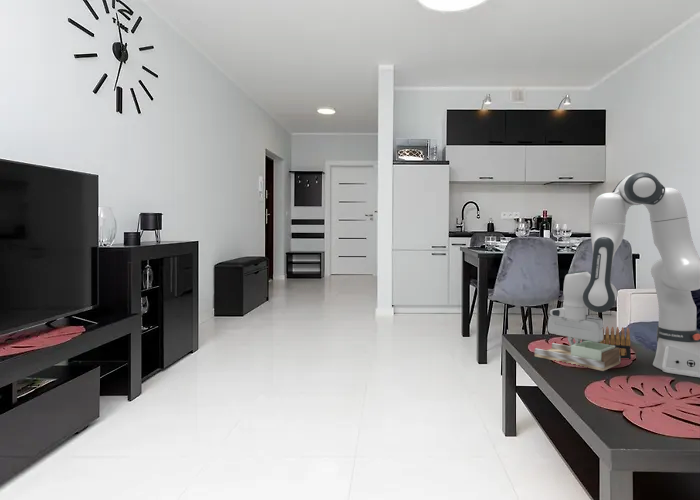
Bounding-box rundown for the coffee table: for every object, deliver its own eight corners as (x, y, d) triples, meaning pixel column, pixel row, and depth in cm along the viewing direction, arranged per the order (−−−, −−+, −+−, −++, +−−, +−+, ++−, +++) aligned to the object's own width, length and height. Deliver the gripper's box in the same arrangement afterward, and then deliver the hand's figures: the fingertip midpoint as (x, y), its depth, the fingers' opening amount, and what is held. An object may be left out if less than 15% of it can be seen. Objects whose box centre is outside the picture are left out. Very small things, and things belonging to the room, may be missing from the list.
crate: (615, 359, 177) (615, 345, 176) (601, 365, 170) (601, 350, 170) (585, 354, 185) (585, 340, 185) (570, 359, 178) (570, 345, 178)
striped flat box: (620, 363, 177) (620, 347, 176) (603, 370, 168) (603, 353, 168) (553, 350, 197) (553, 335, 197) (534, 356, 188) (534, 341, 188)
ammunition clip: (630, 358, 184) (630, 327, 183) (631, 359, 182) (631, 327, 182) (598, 355, 187) (599, 325, 187) (599, 357, 186) (599, 326, 185)
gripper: (607, 316, 176) (606, 353, 177) (554, 308, 192) (553, 342, 193) (599, 318, 172) (597, 356, 173) (546, 310, 188) (544, 344, 189)
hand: (574, 349), depth 183 cm, fingers closed
